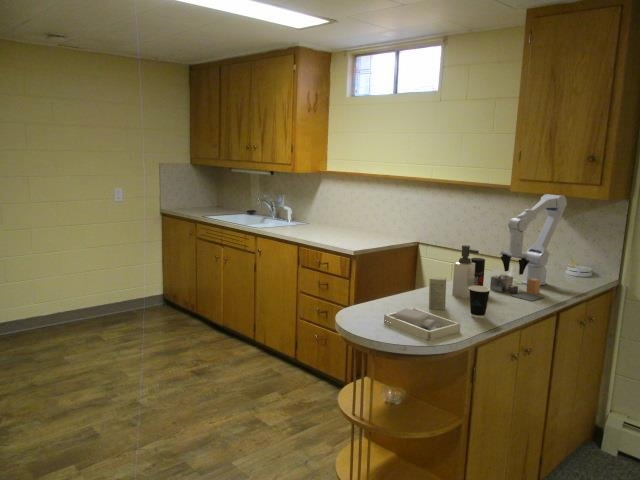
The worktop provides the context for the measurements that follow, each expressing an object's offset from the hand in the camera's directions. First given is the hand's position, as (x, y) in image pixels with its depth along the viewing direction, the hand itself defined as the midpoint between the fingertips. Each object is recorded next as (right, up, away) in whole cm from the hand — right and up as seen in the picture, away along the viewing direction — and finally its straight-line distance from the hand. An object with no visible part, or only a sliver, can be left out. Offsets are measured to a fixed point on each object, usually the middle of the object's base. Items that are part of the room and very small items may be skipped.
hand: (513, 272), depth 243 cm
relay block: (+6, -9, -8) cm, 13 cm away
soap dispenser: (-27, -9, -16) cm, 33 cm away
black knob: (-4, -9, -9) cm, 13 cm away
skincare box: (-43, -12, -34) cm, 56 cm away
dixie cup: (-30, -14, -44) cm, 55 cm away
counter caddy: (-54, -16, -58) cm, 81 cm away
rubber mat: (0, -10, -16) cm, 18 cm away
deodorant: (-20, -8, -8) cm, 23 cm away
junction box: (-7, -8, -4) cm, 11 cm away
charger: (-55, -16, -57) cm, 81 cm away
